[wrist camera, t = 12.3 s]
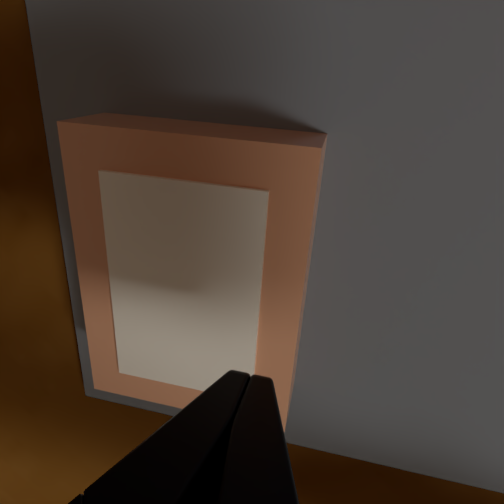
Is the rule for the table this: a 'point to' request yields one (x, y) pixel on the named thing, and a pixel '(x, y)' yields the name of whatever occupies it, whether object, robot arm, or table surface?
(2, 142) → the table surface
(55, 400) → the table surface
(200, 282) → the tile
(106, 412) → the table surface
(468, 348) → the mat
